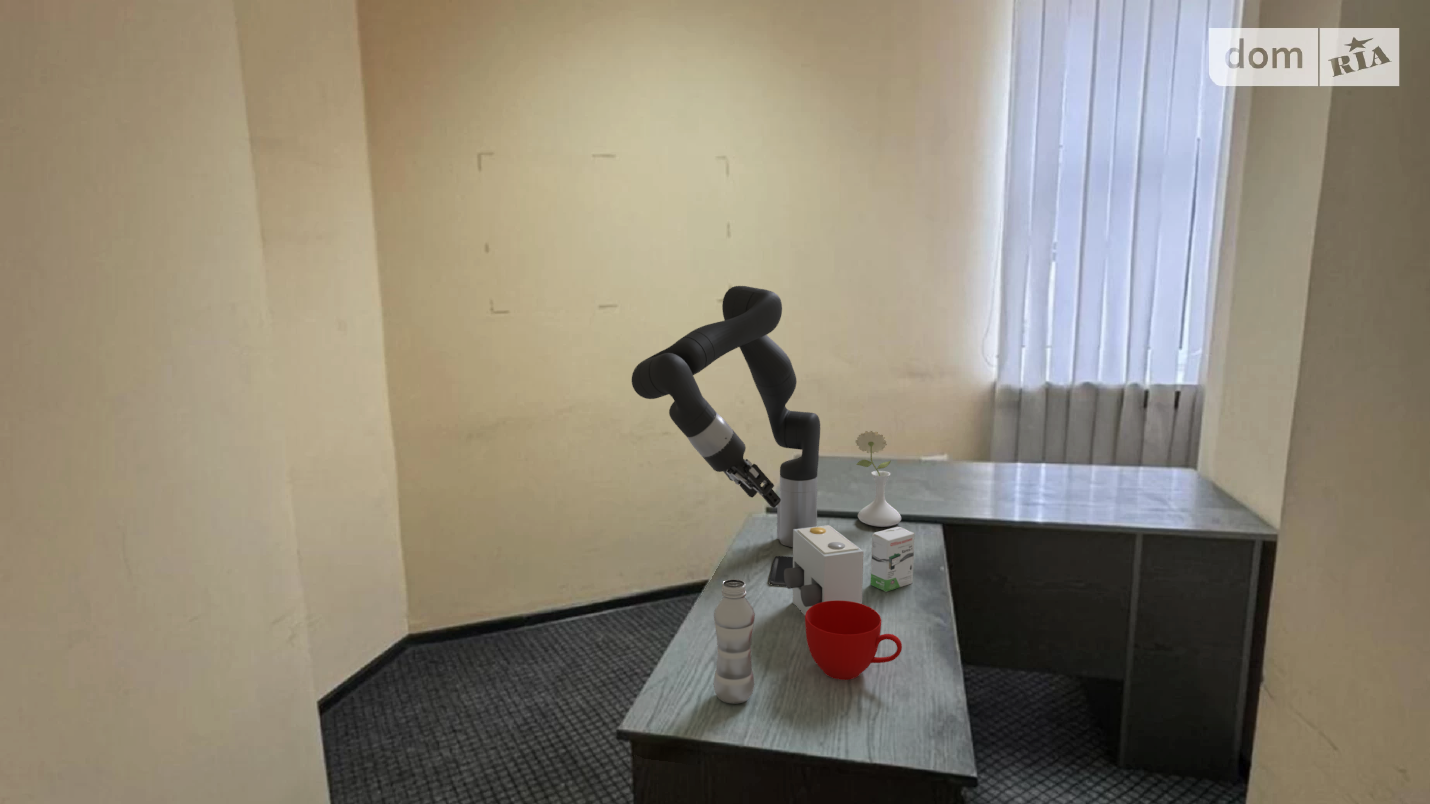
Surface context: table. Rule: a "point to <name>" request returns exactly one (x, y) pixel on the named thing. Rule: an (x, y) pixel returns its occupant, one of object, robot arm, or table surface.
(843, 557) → the console
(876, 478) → the flower in vase
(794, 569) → the button
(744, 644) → the plastic bottle
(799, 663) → the table surface
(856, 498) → the table surface
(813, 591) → the button
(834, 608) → the ceramic cup
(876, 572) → the ink box
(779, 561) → the phone
